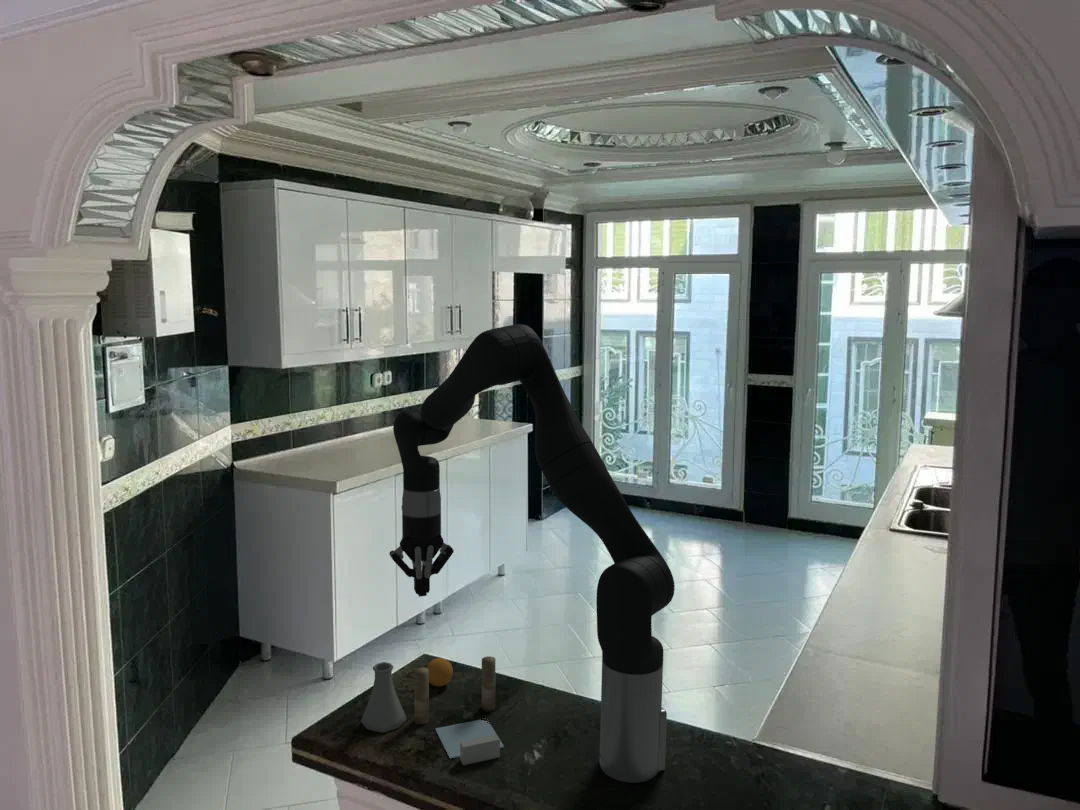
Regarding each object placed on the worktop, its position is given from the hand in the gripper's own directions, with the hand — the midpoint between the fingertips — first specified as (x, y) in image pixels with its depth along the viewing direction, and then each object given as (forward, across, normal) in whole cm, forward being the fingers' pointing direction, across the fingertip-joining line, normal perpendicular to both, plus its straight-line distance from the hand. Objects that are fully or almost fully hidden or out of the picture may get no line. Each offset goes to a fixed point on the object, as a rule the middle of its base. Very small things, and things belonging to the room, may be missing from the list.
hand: (422, 594), depth 157 cm
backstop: (+12, 0, -38) cm, 40 cm away
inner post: (+12, +6, -24) cm, 28 cm away
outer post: (+13, -6, -24) cm, 28 cm away
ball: (+10, 0, -13) cm, 17 cm away
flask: (+13, -12, -22) cm, 28 cm away
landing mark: (+12, 0, -32) cm, 34 cm away
